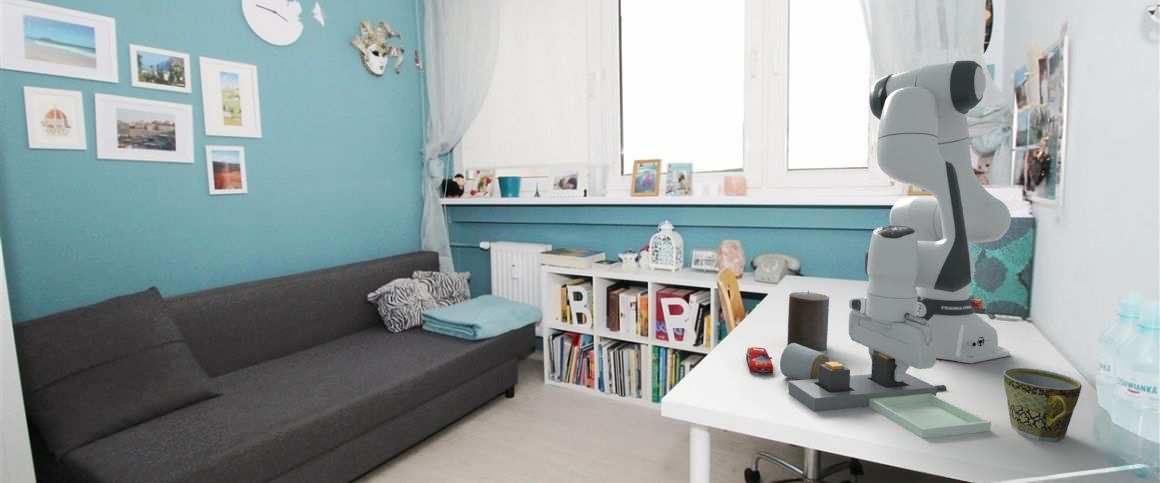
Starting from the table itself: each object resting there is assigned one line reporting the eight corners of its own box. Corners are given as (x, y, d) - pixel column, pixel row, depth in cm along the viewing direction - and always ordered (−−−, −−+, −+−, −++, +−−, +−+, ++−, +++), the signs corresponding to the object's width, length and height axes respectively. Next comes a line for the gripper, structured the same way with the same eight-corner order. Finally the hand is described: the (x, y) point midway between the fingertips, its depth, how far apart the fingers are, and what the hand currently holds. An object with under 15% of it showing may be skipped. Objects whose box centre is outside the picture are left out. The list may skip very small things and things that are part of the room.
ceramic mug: (813, 390, 113) (814, 355, 112) (778, 379, 120) (779, 345, 119) (840, 380, 119) (841, 346, 118) (805, 369, 126) (806, 337, 125)
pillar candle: (788, 350, 139) (791, 293, 137) (785, 339, 148) (787, 286, 147) (829, 354, 136) (832, 295, 135) (824, 342, 146) (827, 287, 144)
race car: (774, 378, 121) (775, 361, 121) (749, 376, 123) (749, 359, 122) (768, 358, 134) (768, 343, 134) (745, 357, 135) (745, 342, 135)
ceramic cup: (989, 418, 98) (993, 365, 97) (1056, 425, 96) (1060, 370, 94) (1025, 453, 86) (1029, 393, 85) (1102, 461, 83) (1108, 399, 82)
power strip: (926, 382, 116) (928, 348, 115) (962, 399, 107) (964, 362, 106) (788, 395, 111) (789, 359, 110) (814, 413, 102) (815, 374, 101)
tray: (929, 402, 106) (929, 392, 106) (990, 432, 93) (990, 422, 93) (868, 408, 104) (868, 398, 104) (922, 440, 91) (922, 429, 91)
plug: (888, 381, 112) (890, 350, 111) (902, 389, 108) (904, 356, 107) (871, 383, 111) (872, 351, 110) (884, 390, 107) (886, 358, 106)
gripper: (947, 320, 98) (943, 393, 99) (870, 296, 118) (867, 358, 119) (916, 322, 97) (913, 396, 98) (843, 298, 117) (841, 360, 118)
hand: (887, 375), depth 109 cm, fingers closed on plug, 4 cm apart
